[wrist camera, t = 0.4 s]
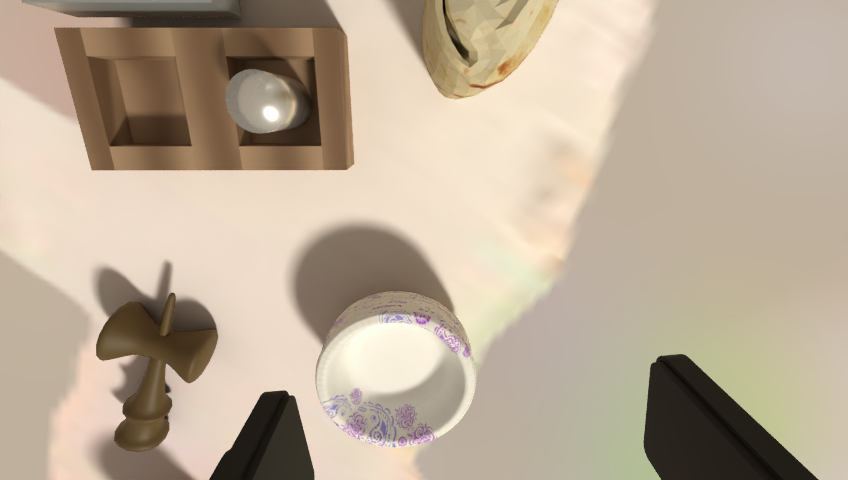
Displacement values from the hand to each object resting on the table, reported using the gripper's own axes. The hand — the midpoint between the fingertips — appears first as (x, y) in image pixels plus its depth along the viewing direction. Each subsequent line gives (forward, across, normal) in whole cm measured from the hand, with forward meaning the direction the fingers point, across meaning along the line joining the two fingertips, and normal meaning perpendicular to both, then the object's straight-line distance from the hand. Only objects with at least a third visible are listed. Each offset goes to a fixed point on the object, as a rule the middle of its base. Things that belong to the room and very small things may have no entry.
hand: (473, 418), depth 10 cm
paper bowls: (+30, +6, +16) cm, 35 cm away
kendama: (+31, +32, +16) cm, 47 cm away
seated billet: (+29, +12, -10) cm, 33 cm away
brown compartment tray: (+30, +18, -10) cm, 36 cm away
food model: (+30, -4, -13) cm, 33 cm away
